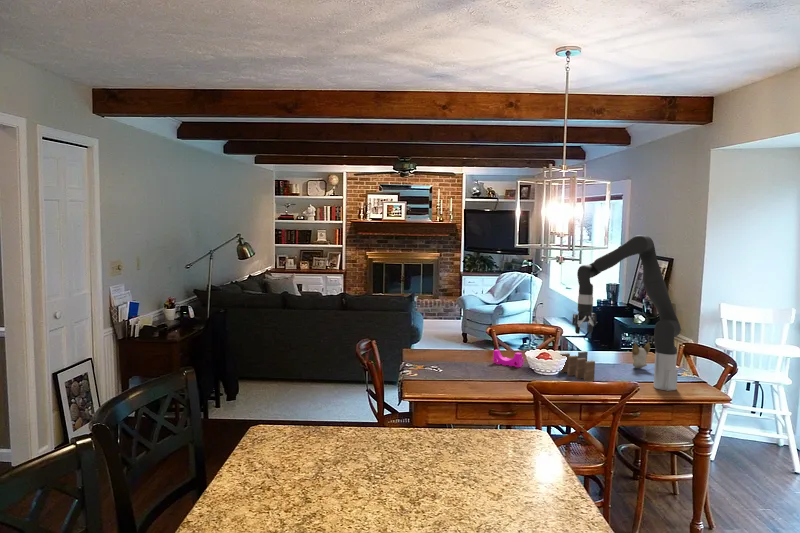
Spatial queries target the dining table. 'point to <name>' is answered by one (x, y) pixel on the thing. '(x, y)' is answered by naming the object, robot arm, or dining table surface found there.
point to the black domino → (582, 355)
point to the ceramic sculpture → (640, 355)
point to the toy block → (516, 361)
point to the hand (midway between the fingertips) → (583, 333)
